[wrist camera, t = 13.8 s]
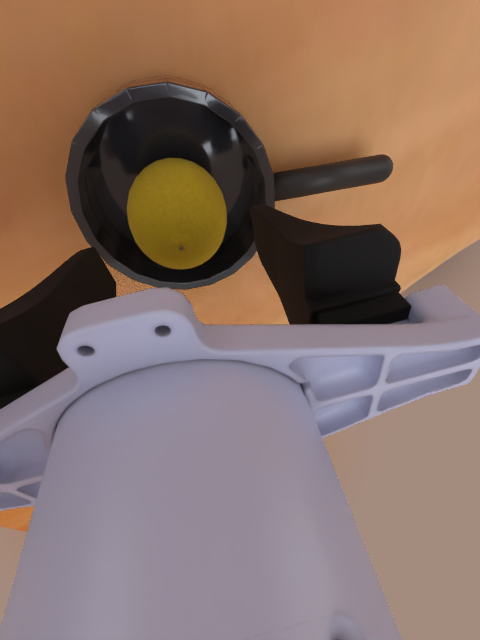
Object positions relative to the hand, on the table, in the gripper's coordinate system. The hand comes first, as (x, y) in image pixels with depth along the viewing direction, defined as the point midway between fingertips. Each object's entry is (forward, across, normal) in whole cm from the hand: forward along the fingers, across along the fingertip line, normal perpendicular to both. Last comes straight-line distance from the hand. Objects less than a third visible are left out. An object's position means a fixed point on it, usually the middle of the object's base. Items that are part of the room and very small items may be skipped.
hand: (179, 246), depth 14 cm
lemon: (+8, 0, 0) cm, 9 cm away
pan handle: (+6, -9, +1) cm, 11 cm away
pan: (+9, 0, 0) cm, 9 cm away
